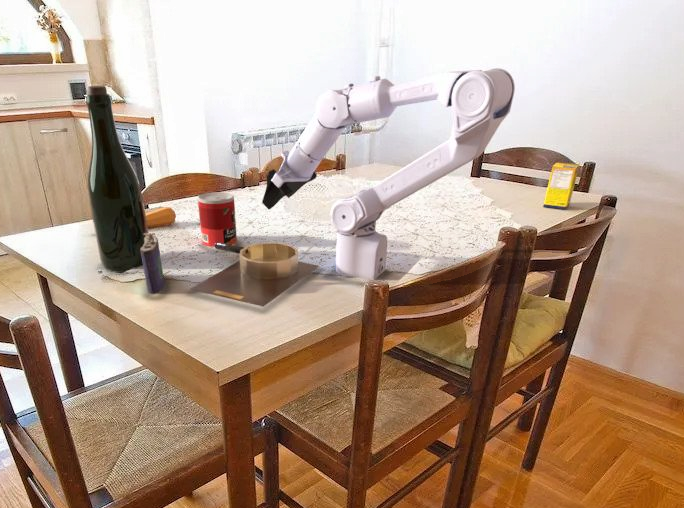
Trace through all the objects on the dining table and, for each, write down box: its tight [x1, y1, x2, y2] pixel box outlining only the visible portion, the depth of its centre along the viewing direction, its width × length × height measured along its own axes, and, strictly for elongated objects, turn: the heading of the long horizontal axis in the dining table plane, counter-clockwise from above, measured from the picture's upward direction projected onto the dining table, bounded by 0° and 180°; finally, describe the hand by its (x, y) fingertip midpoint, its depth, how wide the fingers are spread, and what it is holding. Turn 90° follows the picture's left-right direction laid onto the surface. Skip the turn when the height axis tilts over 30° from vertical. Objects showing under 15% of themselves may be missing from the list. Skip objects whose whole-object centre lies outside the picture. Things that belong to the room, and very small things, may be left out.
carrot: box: [145, 206, 177, 229], centre depth 131 cm, size 20×4×4 cm, turn 119°
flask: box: [140, 232, 165, 299], centre depth 97 cm, size 9×3×11 cm, turn 8°
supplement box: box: [543, 162, 580, 211], centre depth 144 cm, size 6×6×11 cm
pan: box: [214, 242, 299, 280], centre depth 106 cm, size 19×11×4 cm, turn 61°
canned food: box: [197, 191, 238, 248], centre depth 118 cm, size 8×8×11 cm
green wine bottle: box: [85, 85, 150, 273], centre depth 102 cm, size 10×10×33 cm
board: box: [189, 260, 320, 307], centre depth 102 cm, size 16×22×1 cm
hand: (276, 199), depth 109 cm, fingers open, 7 cm apart
